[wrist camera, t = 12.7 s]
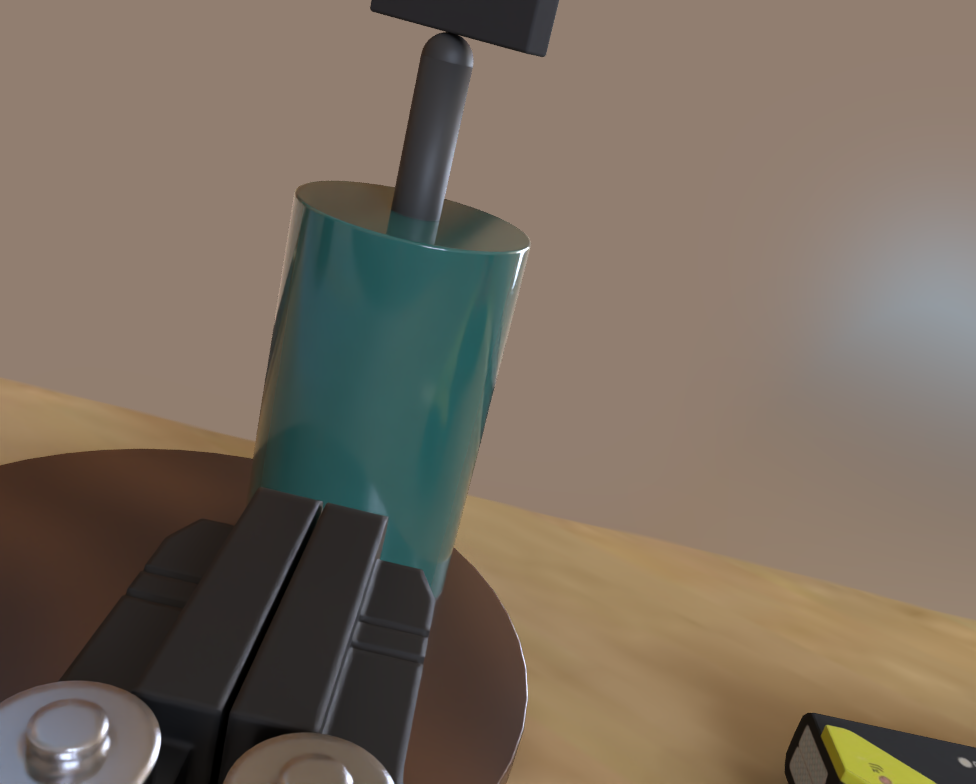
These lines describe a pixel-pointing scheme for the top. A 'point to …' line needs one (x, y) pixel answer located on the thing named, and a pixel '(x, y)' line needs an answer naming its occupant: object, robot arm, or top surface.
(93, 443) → the top surface
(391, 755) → the robot arm
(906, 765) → the stun gun
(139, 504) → the teal post stand
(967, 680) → the top surface
